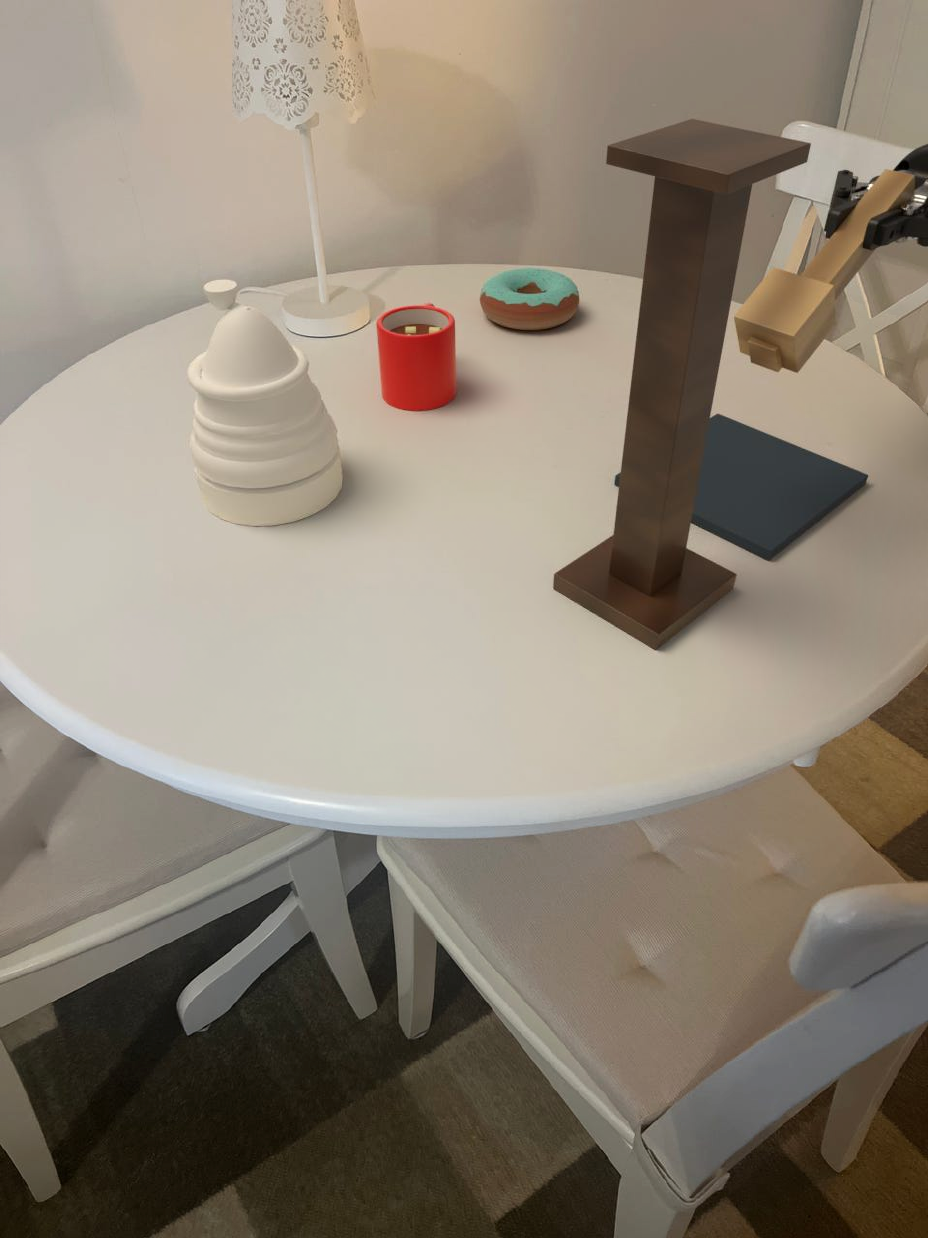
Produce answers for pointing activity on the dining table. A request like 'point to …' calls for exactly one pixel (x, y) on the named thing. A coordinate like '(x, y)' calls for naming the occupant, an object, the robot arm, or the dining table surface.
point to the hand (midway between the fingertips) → (851, 230)
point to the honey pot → (259, 422)
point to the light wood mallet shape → (813, 286)
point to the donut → (529, 299)
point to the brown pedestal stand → (675, 373)
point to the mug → (417, 357)
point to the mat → (764, 487)
